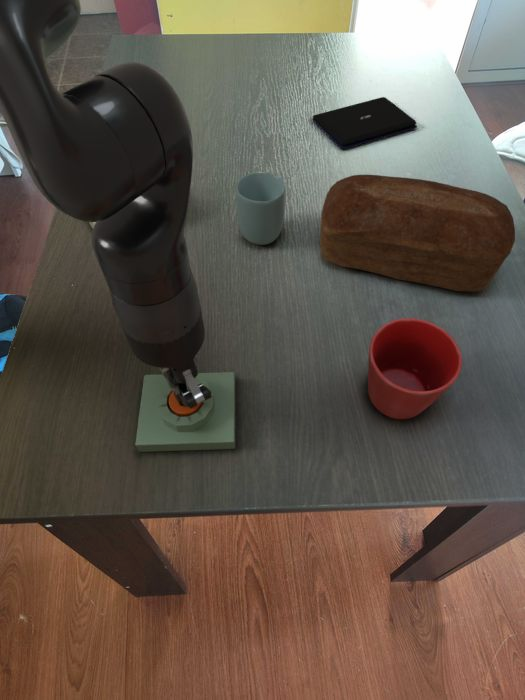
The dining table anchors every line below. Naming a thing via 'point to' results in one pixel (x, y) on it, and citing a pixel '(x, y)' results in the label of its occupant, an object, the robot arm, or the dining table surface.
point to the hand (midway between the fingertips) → (185, 398)
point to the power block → (187, 432)
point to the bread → (416, 231)
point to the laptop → (363, 122)
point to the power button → (182, 407)
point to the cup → (260, 206)
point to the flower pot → (410, 366)
